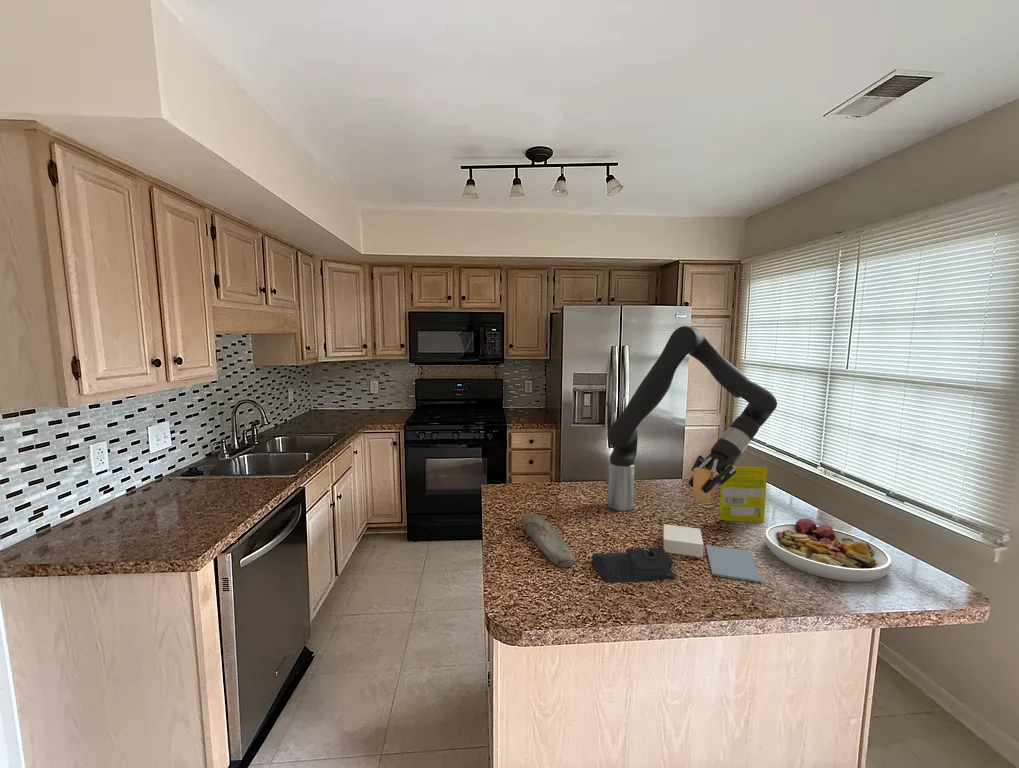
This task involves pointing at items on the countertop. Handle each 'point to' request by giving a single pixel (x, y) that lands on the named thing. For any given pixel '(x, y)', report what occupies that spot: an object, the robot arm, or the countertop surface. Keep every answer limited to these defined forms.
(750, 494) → the food package
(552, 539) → the long grey stone
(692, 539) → the white square block
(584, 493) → the countertop surface
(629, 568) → the black flat bumpy piece
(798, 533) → the bowl
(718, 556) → the mat
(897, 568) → the countertop surface
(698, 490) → the tan rounded cylinder
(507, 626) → the countertop surface
